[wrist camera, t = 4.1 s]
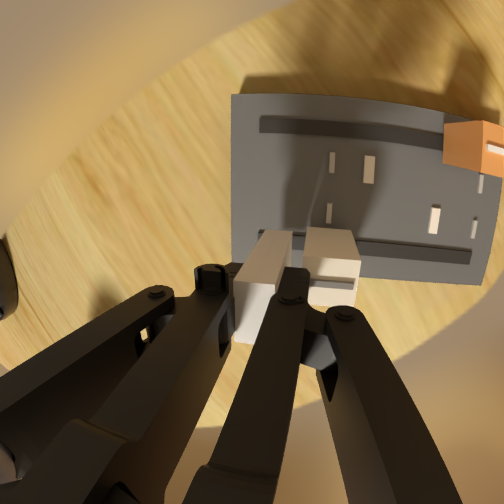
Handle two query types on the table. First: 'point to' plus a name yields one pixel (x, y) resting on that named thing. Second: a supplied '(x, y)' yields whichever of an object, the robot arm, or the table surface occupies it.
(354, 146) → the console
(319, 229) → the cream fader
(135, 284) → the table surface
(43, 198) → the table surface
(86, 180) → the table surface
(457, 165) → the orange fader
